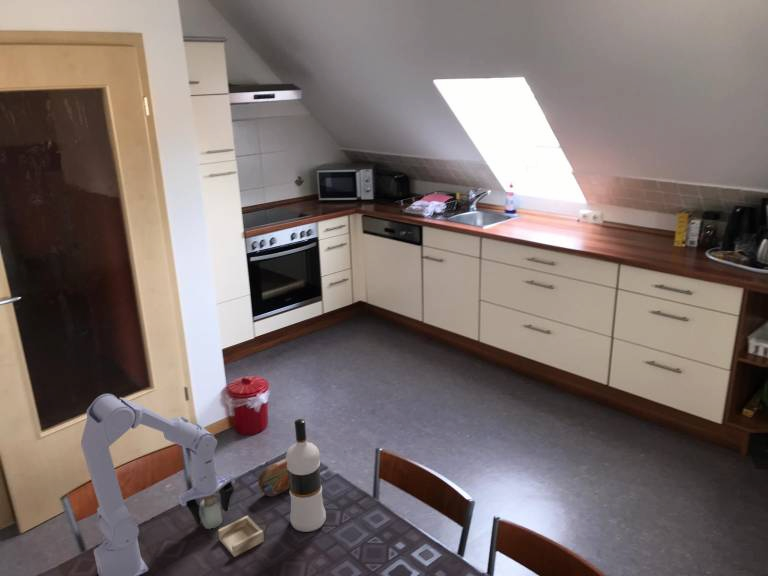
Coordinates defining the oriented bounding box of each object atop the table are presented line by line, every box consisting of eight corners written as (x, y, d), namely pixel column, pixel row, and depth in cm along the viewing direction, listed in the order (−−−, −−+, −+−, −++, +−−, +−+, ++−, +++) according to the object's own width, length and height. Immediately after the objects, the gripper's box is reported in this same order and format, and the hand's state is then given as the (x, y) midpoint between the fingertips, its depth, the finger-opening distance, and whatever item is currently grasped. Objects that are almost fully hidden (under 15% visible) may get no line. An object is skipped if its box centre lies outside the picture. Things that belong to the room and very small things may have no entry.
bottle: (207, 531, 160) (203, 505, 157) (199, 521, 163) (195, 496, 161) (225, 522, 163) (222, 497, 160) (217, 513, 166) (213, 488, 164)
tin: (263, 501, 171) (260, 475, 168) (258, 496, 173) (255, 470, 170) (309, 479, 180) (307, 454, 177) (303, 474, 182) (301, 449, 179)
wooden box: (234, 557, 151) (233, 547, 150) (219, 539, 157) (218, 529, 156) (264, 541, 156) (263, 531, 155) (248, 524, 162) (247, 515, 161)
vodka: (283, 522, 162) (273, 422, 152) (310, 505, 168) (302, 407, 159) (306, 539, 156) (297, 435, 146) (333, 520, 162) (326, 419, 153)
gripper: (224, 454, 165) (229, 496, 170) (171, 476, 157) (178, 520, 161) (236, 465, 160) (242, 509, 165) (182, 489, 152) (190, 534, 156)
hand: (211, 515), depth 162 cm, fingers open, 7 cm apart
